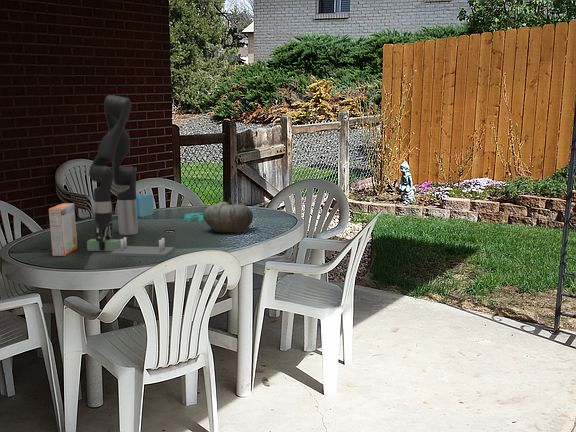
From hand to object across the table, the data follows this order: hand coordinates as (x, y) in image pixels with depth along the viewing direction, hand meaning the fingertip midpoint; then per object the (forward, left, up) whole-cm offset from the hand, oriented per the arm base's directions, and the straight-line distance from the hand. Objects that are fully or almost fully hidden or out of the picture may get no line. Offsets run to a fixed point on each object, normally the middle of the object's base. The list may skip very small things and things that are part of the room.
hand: (105, 248), depth 302 cm
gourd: (-48, +45, -1) cm, 66 cm away
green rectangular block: (0, 0, -1) cm, 1 cm away
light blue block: (-86, -13, -1) cm, 87 cm away
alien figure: (-81, +22, -1) cm, 84 cm away
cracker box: (+8, -15, -1) cm, 17 cm away
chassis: (+4, +19, -1) cm, 19 cm away
